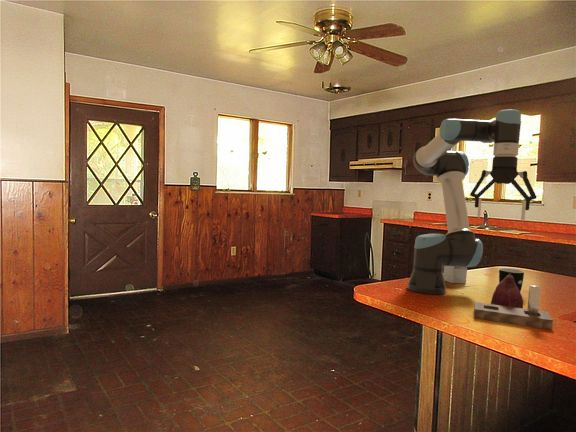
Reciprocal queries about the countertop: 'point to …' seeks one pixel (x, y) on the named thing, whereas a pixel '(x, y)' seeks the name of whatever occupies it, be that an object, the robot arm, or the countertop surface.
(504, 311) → the board
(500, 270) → the mug
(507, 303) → the vegetable
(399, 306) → the countertop surface
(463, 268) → the supplement box
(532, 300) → the pin
